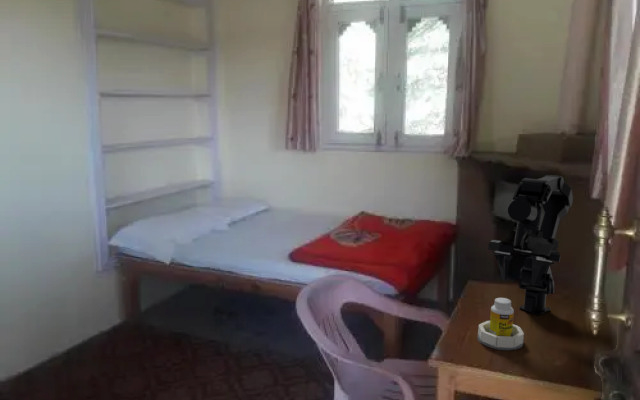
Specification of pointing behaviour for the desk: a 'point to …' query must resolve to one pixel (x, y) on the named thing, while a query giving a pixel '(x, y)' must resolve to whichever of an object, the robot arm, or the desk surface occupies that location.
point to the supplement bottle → (501, 318)
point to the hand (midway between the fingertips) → (519, 283)
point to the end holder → (500, 338)
